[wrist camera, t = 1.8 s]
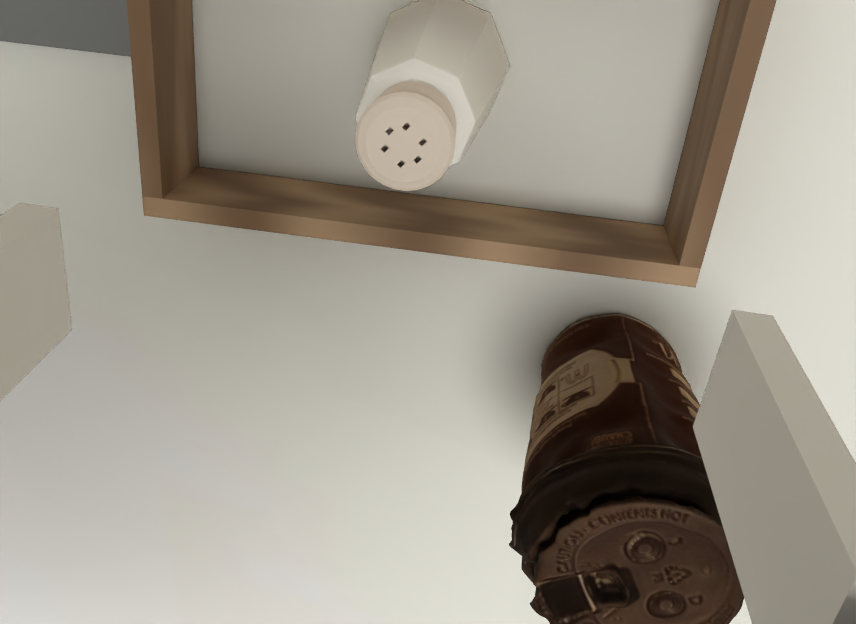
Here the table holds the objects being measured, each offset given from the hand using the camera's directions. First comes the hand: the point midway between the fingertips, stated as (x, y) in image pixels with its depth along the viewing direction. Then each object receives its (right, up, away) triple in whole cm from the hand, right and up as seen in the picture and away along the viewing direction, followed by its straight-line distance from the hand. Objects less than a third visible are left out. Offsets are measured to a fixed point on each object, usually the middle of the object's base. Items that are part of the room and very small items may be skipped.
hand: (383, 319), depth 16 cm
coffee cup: (+9, -3, +22) cm, 24 cm away
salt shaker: (+1, +10, +16) cm, 19 cm away
